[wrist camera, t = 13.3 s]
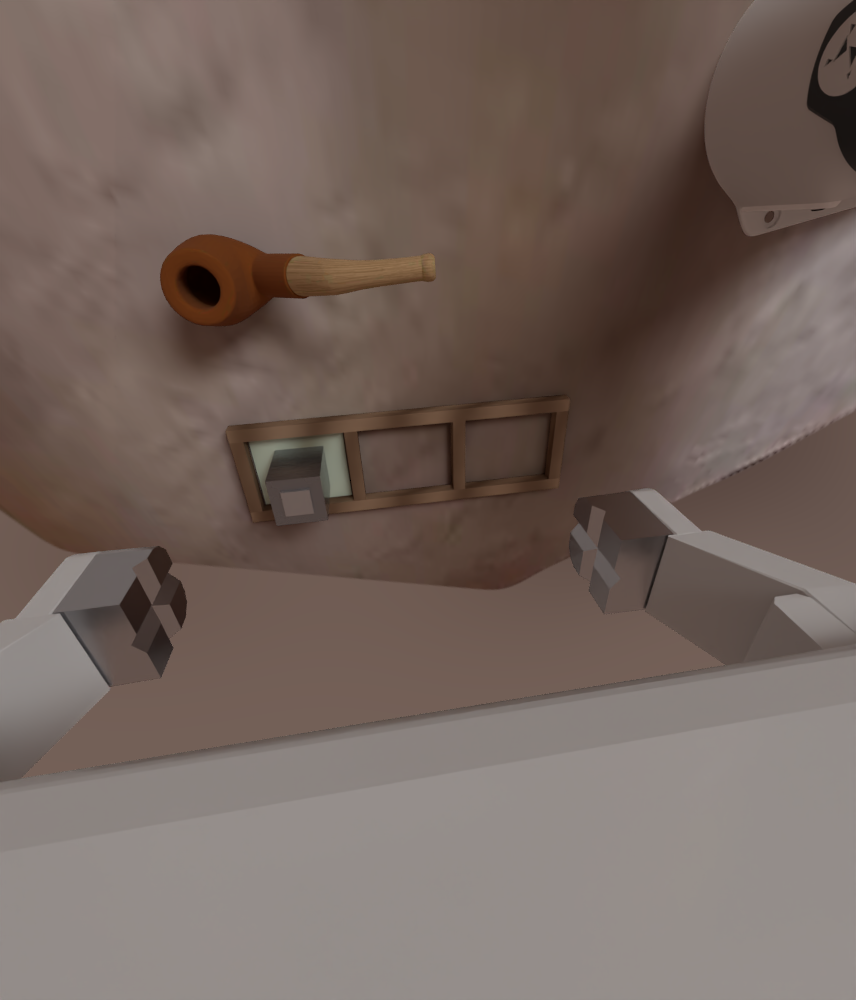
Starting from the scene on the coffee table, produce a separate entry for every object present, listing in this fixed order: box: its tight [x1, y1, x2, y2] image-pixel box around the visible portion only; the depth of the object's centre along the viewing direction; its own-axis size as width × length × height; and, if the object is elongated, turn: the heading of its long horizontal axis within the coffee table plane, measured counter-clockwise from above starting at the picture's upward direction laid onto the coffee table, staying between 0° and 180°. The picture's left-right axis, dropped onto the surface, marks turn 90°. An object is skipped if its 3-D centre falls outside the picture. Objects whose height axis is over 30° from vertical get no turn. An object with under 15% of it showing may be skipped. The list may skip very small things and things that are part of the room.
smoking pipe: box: [160, 234, 436, 326], centre depth 30 cm, size 7×18×6 cm
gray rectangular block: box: [265, 446, 331, 526], centre depth 41 cm, size 4×4×6 cm
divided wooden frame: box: [225, 395, 570, 523], centre depth 45 cm, size 32×10×1 cm, turn 92°
